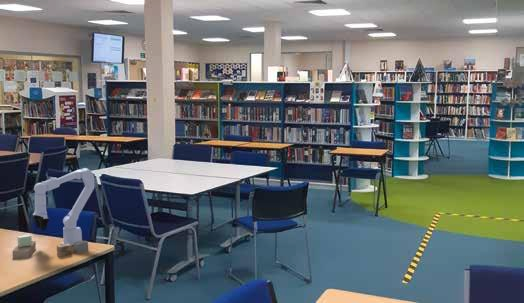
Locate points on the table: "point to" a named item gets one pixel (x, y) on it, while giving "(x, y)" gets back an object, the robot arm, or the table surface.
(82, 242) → the grey block
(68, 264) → the table surface
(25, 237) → the green block
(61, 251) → the walnut block
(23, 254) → the brick
